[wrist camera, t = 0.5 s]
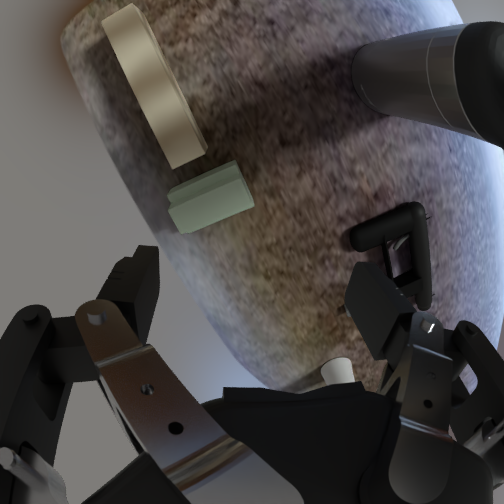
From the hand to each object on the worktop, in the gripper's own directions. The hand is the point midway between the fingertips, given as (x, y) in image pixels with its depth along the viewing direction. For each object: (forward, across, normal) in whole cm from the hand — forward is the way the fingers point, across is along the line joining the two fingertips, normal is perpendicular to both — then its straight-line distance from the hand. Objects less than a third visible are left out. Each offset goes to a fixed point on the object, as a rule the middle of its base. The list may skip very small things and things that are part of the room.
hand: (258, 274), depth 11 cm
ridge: (+23, +2, +3) cm, 23 cm away
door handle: (+23, -24, +12) cm, 35 cm away
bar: (+22, +9, -9) cm, 26 cm away
